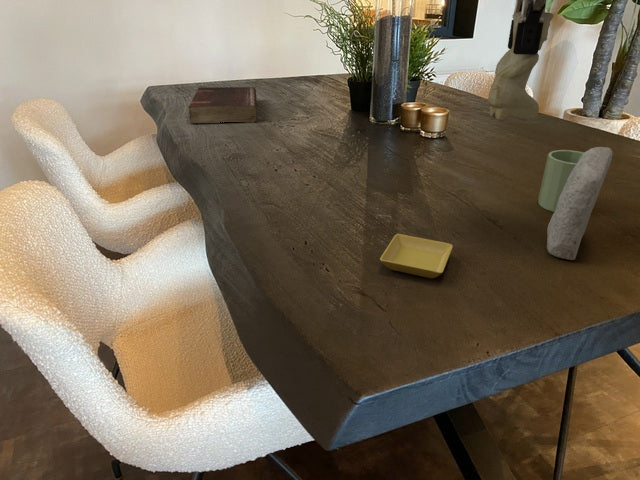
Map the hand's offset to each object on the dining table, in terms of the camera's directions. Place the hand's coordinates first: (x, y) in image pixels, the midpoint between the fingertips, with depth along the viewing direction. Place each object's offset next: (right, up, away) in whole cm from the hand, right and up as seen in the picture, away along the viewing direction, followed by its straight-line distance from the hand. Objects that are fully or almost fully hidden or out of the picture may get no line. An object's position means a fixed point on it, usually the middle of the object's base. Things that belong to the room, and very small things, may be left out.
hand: (522, 50), depth 70 cm
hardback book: (-58, +13, +83) cm, 102 cm away
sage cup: (+14, -21, +18) cm, 31 cm away
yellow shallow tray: (-15, -31, 0) cm, 34 cm away
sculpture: (0, -9, +5) cm, 10 cm away
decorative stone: (+8, -28, +4) cm, 30 cm away
